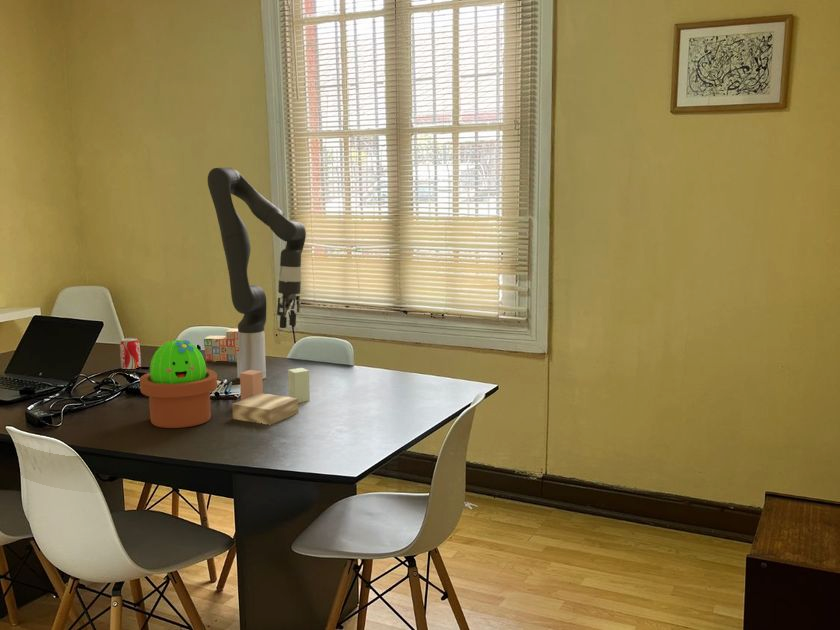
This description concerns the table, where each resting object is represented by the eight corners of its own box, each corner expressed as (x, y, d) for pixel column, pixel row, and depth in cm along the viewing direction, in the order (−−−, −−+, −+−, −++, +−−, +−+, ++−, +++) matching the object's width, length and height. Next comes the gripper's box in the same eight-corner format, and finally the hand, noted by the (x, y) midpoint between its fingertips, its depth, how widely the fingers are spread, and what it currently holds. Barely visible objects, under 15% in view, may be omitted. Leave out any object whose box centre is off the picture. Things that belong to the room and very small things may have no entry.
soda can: (137, 373, 310) (135, 341, 308) (118, 373, 311) (116, 341, 308) (143, 368, 317) (142, 337, 315) (125, 368, 317) (123, 337, 315)
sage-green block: (289, 399, 274) (288, 369, 272) (303, 397, 276) (302, 367, 275) (295, 403, 270) (294, 372, 268) (309, 400, 272) (308, 370, 271)
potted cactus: (140, 414, 258) (135, 334, 253) (213, 406, 266) (209, 329, 261) (145, 435, 238) (139, 348, 233) (224, 426, 246) (220, 342, 241)
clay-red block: (241, 403, 269) (239, 373, 268) (250, 399, 274) (249, 369, 272) (253, 405, 267) (252, 374, 265) (263, 401, 271) (262, 371, 270)
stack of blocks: (204, 361, 329) (203, 330, 327) (210, 358, 335) (208, 327, 333) (258, 362, 327) (256, 331, 325) (262, 359, 333) (261, 328, 331)
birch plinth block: (232, 420, 253) (232, 403, 252) (261, 408, 265) (261, 393, 264) (270, 426, 247) (270, 409, 246) (298, 414, 259) (297, 398, 258)
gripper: (287, 278, 295) (285, 323, 297) (271, 279, 282) (269, 327, 283) (307, 279, 294) (305, 325, 295) (292, 281, 280) (290, 329, 282)
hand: (287, 326), depth 289 cm, fingers open, 8 cm apart
